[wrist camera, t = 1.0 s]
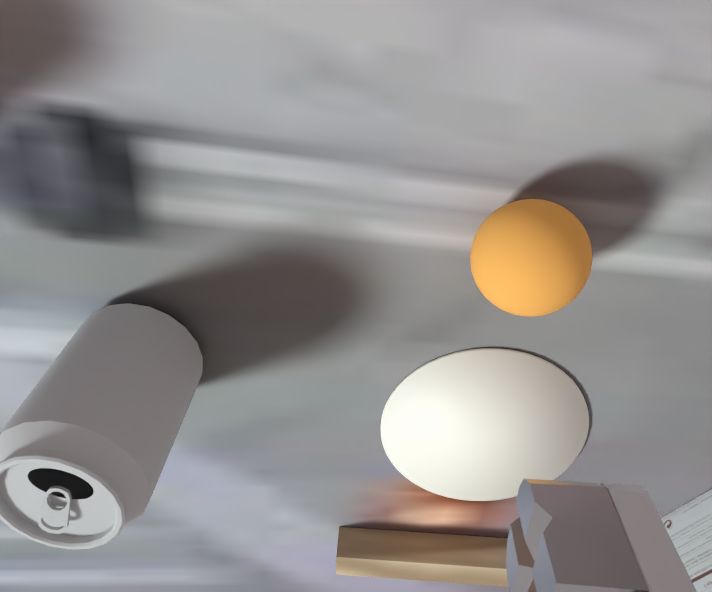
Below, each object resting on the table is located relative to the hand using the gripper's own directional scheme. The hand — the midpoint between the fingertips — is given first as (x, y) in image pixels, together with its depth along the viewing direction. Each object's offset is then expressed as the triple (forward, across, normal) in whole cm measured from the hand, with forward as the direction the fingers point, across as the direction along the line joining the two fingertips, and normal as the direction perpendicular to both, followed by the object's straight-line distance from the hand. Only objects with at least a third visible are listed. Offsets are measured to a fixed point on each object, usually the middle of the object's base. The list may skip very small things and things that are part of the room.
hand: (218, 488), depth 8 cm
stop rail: (+26, -10, +31) cm, 42 cm away
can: (+25, +12, +15) cm, 31 cm away
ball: (+21, -9, +6) cm, 24 cm away
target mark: (+25, -10, +19) cm, 33 cm away
